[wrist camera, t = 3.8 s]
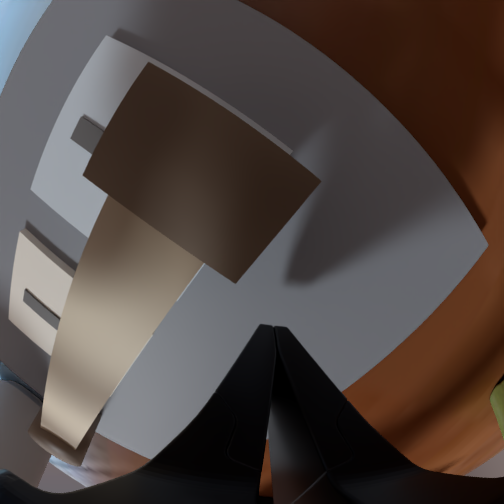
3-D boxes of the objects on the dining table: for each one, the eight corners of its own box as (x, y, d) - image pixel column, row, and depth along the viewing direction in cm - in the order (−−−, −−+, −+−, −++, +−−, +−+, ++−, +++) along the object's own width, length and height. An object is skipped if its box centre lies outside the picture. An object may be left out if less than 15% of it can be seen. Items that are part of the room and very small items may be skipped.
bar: (94, 427, 14) (77, 469, 10) (50, 398, 13) (28, 438, 10) (296, 162, 8) (327, 185, 4) (192, 89, 7) (139, 56, 3)
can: (1, 391, 16) (-46, 471, 5) (-1, 359, 14) (-67, 458, 3) (59, 437, 18) (23, 524, 7) (70, 417, 16) (21, 531, 5)
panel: (477, 238, 9) (495, 249, 8) (192, 466, 17) (189, 479, 16) (99, -38, 5) (85, -50, 4) (-22, 326, 13) (-31, 335, 12)
